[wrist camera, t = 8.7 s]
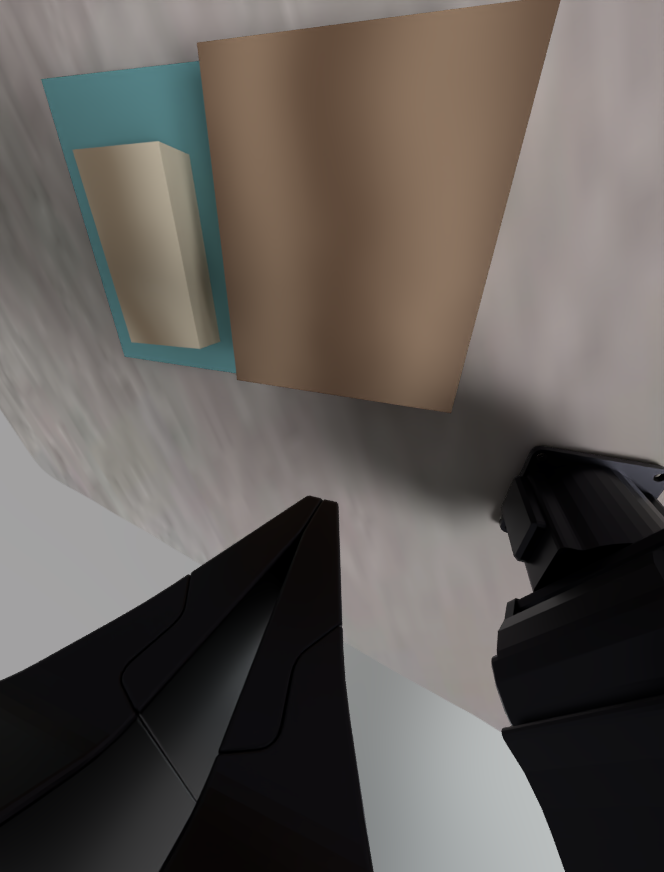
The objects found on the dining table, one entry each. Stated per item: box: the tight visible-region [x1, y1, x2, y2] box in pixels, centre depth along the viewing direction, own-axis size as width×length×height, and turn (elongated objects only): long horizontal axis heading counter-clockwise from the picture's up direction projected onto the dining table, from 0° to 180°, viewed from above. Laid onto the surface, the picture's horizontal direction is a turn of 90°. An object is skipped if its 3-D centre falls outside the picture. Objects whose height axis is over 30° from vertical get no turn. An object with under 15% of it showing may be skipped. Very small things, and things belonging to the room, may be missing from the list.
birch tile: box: [73, 141, 220, 349], centre depth 17 cm, size 5×9×2 cm, turn 0°
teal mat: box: [41, 61, 236, 373], centre depth 18 cm, size 11×14×1 cm
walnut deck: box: [197, 0, 560, 413], centre depth 14 cm, size 11×12×4 cm
